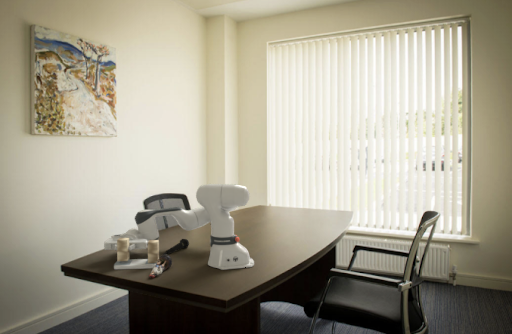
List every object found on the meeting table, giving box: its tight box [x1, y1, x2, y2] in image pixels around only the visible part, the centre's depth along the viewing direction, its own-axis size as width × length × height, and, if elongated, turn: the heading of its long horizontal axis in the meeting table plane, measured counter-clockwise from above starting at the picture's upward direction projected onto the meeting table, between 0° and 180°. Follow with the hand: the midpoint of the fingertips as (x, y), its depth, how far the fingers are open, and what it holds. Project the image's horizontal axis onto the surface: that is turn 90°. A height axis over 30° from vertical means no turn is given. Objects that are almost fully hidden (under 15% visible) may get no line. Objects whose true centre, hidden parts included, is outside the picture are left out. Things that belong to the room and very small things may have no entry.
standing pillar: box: [147, 239, 160, 263], centre depth 179 cm, size 4×4×10 cm
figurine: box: [148, 253, 173, 279], centre depth 169 cm, size 8×7×18 cm
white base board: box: [113, 258, 157, 270], centre depth 178 cm, size 21×10×2 cm, turn 97°
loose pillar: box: [116, 238, 130, 262], centre depth 177 cm, size 4×4×10 cm
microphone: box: [162, 238, 190, 255], centre depth 203 cm, size 6×6×20 cm
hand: (122, 248), depth 176 cm, fingers closed on loose pillar, 4 cm apart
